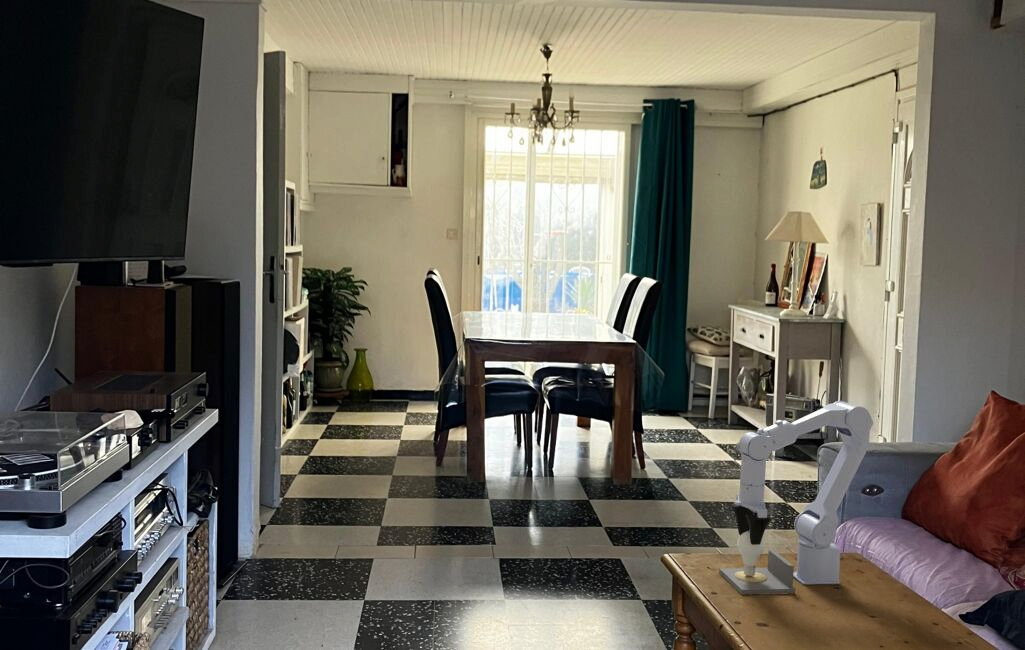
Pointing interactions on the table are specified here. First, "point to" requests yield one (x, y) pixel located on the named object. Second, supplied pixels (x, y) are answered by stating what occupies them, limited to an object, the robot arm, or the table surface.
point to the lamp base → (763, 577)
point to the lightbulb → (749, 552)
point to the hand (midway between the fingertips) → (749, 539)
